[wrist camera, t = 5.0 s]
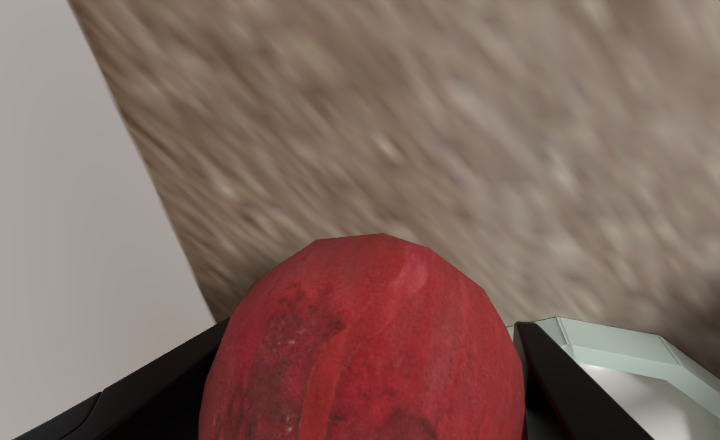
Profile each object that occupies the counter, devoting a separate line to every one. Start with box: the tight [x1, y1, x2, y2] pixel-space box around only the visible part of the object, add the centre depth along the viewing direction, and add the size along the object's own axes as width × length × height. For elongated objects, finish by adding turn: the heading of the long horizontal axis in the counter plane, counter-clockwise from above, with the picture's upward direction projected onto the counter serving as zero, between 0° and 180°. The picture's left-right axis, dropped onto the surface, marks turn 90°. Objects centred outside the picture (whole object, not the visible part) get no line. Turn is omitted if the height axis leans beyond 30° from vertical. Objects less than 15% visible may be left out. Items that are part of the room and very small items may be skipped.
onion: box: [198, 233, 528, 440], centre depth 7 cm, size 6×6×8 cm
